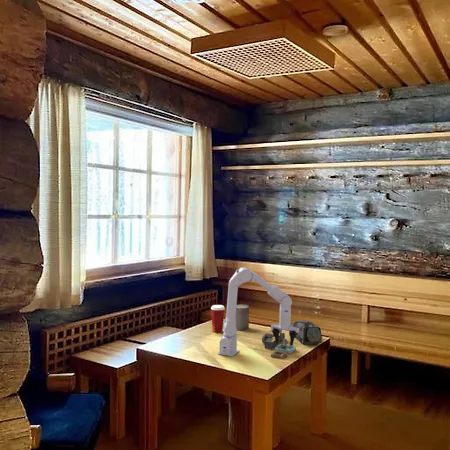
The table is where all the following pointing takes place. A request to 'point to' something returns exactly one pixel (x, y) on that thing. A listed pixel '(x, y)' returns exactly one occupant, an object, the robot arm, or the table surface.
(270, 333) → the trolley
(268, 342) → the chock
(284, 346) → the pin
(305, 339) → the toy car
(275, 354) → the pin holder
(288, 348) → the tray
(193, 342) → the table surface
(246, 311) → the pillar candle
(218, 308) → the coffee cup
